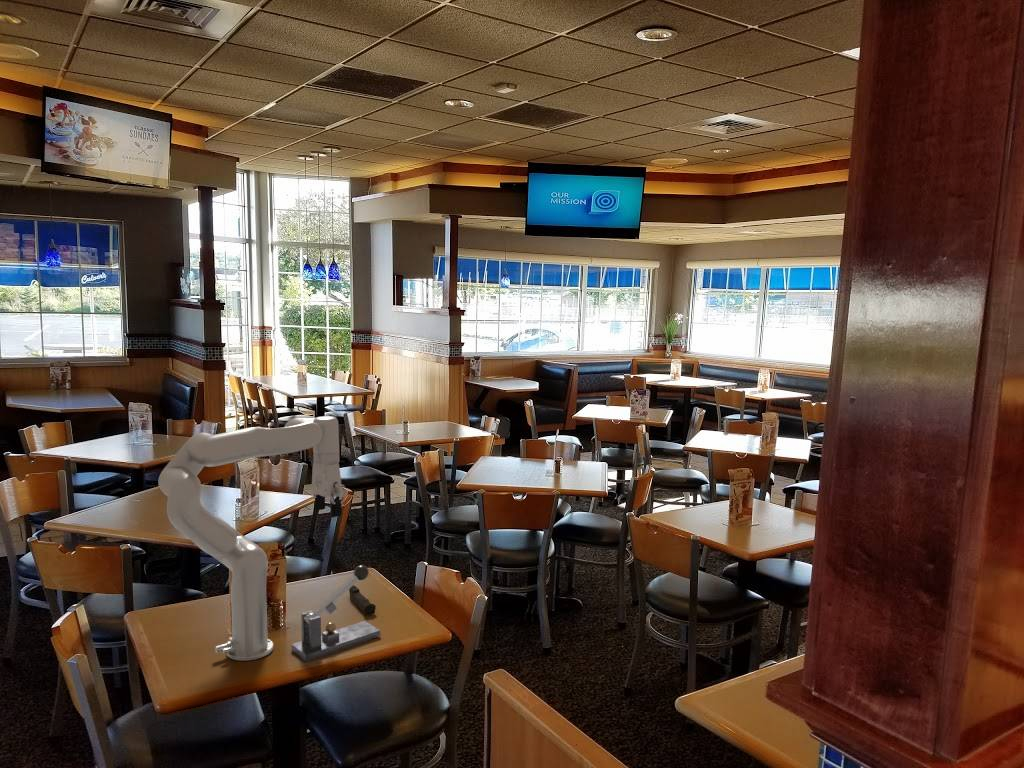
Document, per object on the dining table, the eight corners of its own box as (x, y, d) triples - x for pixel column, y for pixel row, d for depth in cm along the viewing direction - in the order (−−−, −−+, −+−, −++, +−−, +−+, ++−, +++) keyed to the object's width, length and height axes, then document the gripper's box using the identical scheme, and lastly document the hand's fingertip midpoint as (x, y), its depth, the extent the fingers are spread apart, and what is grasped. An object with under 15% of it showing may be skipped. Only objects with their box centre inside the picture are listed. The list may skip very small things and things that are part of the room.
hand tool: (376, 615, 236) (376, 601, 235) (364, 617, 234) (363, 603, 233) (358, 595, 252) (358, 582, 252) (347, 597, 250) (346, 584, 250)
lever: (315, 631, 207) (306, 619, 205) (307, 626, 211) (299, 614, 209) (374, 576, 219) (367, 564, 217) (367, 572, 223) (359, 560, 220)
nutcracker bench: (306, 661, 204) (305, 624, 203) (291, 650, 210) (290, 613, 209) (380, 636, 220) (379, 601, 219) (364, 626, 226) (364, 592, 225)
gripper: (301, 455, 224) (303, 509, 225) (329, 464, 211) (331, 521, 213) (323, 451, 229) (325, 505, 231) (352, 460, 216) (354, 516, 218)
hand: (328, 512), depth 222 cm, fingers open, 9 cm apart
